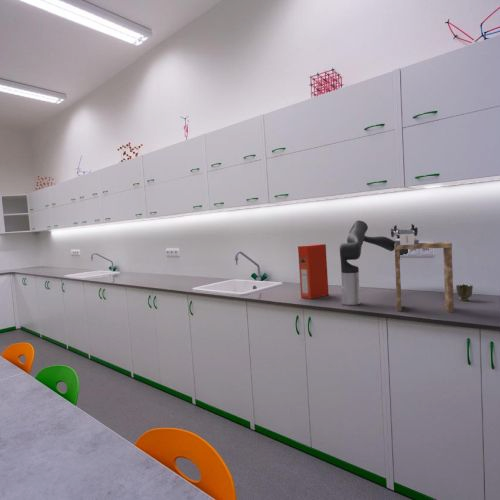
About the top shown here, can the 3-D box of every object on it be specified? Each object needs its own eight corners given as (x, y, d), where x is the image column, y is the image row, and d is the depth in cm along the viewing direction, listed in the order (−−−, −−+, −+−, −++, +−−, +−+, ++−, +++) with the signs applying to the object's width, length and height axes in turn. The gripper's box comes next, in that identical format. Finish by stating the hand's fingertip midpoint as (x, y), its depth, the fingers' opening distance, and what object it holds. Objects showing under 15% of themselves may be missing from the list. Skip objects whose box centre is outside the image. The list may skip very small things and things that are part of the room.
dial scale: (395, 245, 169) (395, 234, 169) (395, 243, 182) (395, 234, 181) (418, 244, 166) (418, 233, 166) (417, 242, 178) (416, 232, 178)
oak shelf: (397, 311, 172) (394, 245, 170) (396, 305, 184) (394, 243, 182) (454, 312, 163) (451, 243, 161) (449, 306, 175) (447, 241, 173)
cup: (453, 300, 188) (452, 285, 188) (462, 298, 191) (462, 283, 191) (466, 302, 181) (466, 287, 181) (476, 300, 184) (476, 285, 184)
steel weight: (399, 239, 172) (399, 231, 172) (399, 237, 190) (398, 230, 190) (413, 238, 170) (413, 230, 170) (411, 237, 188) (411, 229, 188)
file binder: (300, 298, 220) (297, 246, 218) (318, 293, 231) (315, 244, 229) (311, 299, 214) (308, 246, 212) (328, 294, 225) (326, 244, 223)
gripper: (390, 234, 219) (390, 221, 206) (416, 233, 214) (417, 219, 201) (391, 245, 216) (390, 232, 203) (417, 244, 211) (418, 231, 197)
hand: (404, 226), depth 202 cm, fingers open, 8 cm apart
